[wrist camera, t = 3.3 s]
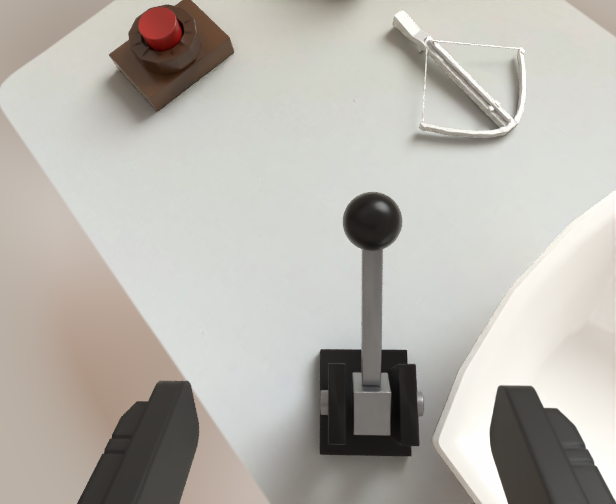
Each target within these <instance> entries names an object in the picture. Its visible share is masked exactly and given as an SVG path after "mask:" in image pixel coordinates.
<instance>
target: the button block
mask: <svg viewBox="0 0 616 504" xmlns="http://www.w3.org/2000/svg"><path fill="white" fill-rule="evenodd" d="M158 7H163V8H167V9H169V10H171V11H172V12H173V13H174V14H175V16H176V18H177V20H178V23H179V25H180V27H181V30H182V37H181V40H180V42H179V43H178V44H177V45H176V46H175V47H174V48H172V49H171V50H167V51H162V52H160V51H155V50H153V49H151V48H150V47H149V46H148V45H147V43H146V42H145V40H144V38H143V36H142V35H141V33H140V31H139V21H140V18H141V17H142V15H143V14H144V13H145V12H147V11H148V10H150V9H153V8H157V7H153V8H150V9H148V10H147V11H145V12H144V13H143V14H141V15H140V16H139V17H137V18H136V19H135V21H134V23H133V25H132V27H131V29H130V31H129V40H128V41H127V42H125V43H124V44H123V45H121V46H120V47H118V48H117V49H116V50H114V51H113V52H112V53H110V54H109V56H110V57H111V59H112V60H113V62H114V63H115V65H116V66H117V68H118V69H119V70H120V71H121V72H122V73H123V74H124V76H125V77H126V78H127V79H128V80H129V81H130V82H131V83H132V84H133V85H134V86H135V88H136V89H137V90H138V91H139V92H140V93H141V94H142V95H143V96H144V97H145V99H146V100H147V101H148V102H149V103H150V104H151V105H152V106H153V107H154V108H155V109H156V111H158V110H160V109H161V108H162V107H164V106H165V105H166V104H168V103H169V102H170V101H171V100H173V99H174V98H175V97H177V96H178V95H179V94H181V93H182V92H183V91H184V90H186V89H187V88H188V87H190V86H191V85H192V84H193V83H195V82H196V81H197V80H199V79H200V78H201V77H203V76H204V75H205V74H206V73H208V72H209V71H210V70H212V69H213V68H214V67H216V66H217V65H218V64H219V63H221V62H222V61H223V60H225V59H226V58H227V57H229V56H230V55H231V54H232V53H234V50H233V47H232V43H231V40H230V37H229V36H228V35H227V34H226V33H225V32H224V31H222V30H221V29H220V28H219V27H218V26H217V25H216V24H215V23H214V22H213V21H212V20H211V19H210V18H209V17H208V16H207V15H206V14H205V13H204V12H203V11H202V10H201V9H200V8H199V7H198V6H197V5H196V4H195V3H194V2H192V1H191V0H182V1H181V2H179V3H178V4H177V5H175V6H172V5H163V6H158Z"/></svg>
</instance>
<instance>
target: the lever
mask: <svg viewBox="0 0 616 504" xmlns="http://www.w3.org/2000/svg"><path fill="white" fill-rule="evenodd" d="M401 227H402V216H401V212H400V209H399V207H398V206H397V204H396V203H395V202H394V201H393V200H392V199H391V198H390V197H388V196H387V195H384V194H382V193H378V192H367V193H363V194H361V195H359V196H357V197H355V198H354V199H353V200H352V201H351V202H350V203H349V204H348V206H347V208H346V210H345V212H344V216H343V228H344V231H345V234H346V236H347V238H348V239H349V240H350V241H351V243H353V244H354V245H355V246H357V247H358V248H361V249H362V373H352V420H353V434H354V435H391V408H392V392H391V386H390V381H389V376H388V373H381V351H382V269H383V249H384V248H386V247H388V246H389V245H391V244H392V243H393V242H394V241H395V240H396V238H397V237H398V235H399V233H400V231H401Z"/></svg>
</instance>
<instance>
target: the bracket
mask: <svg viewBox="0 0 616 504" xmlns="http://www.w3.org/2000/svg"><path fill="white" fill-rule="evenodd" d="M352 373H362V350H342V349H321V350H320V454H321V455H367V456H411V446H419V424H418V416H423V412H424V403H423V395H422V392H420V391H417V382H416V365H415V364H407V350H382V351H381V373H388V376H389V381H390V386H391V392H392V408H391V435H354V434H353V420H352Z"/></svg>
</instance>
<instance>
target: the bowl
mask: <svg viewBox="0 0 616 504" xmlns="http://www.w3.org/2000/svg"><path fill="white" fill-rule="evenodd" d="M500 385H521V386H532V387H534V389H535V390H536V392H537V394H538V396H539V399H540V401H541V403H542V405H543V407H544V408H557V409H558V410H560V411H561V412H562V413H563V414H564V415H565V416H566V417H567V418H568V419H569V420H570V421H571V422H572V423H573V424H574V425H575V426H576V428H577V430H578V432H579V434H580V435H581V437H582V439H583V441H584V443H585V445H586V449H588V450H589V452H590V454H591V456H592V458H593V460H594V464H595V466H597V467H598V469H599V471H600V473H601V475H602V477H603V479H604V481H605V482H606V484H607V486H608V488H609V490H610V492H611V494H612V496H613V497H614V499H615V501H616V190H615V191H614V192H612V193H611V194H609V195H608V196H607V197H605V198H604V199H603V200H601V201H600V202H599V203H597V204H596V205H595V206H593V207H592V208H591V209H589V210H588V211H587V212H585V213H584V214H583V215H581V216H580V217H579V218H577V219H576V220H575V221H573V222H572V223H570V224H569V225H568V226H567V227H566V228H565V229H564V230H563V231H562V232H561V233H560V235H559V236H558V237H557V238H556V239H555V240H554V241H553V242H552V243H551V244H550V245H549V246H548V248H547V249H546V250H545V251H544V252H543V253H542V254H541V255H540V256H539V257H538V258H537V259H536V260H535V262H534V263H533V264H532V265H531V266H530V267H529V268H528V269H527V270H526V271H525V272H524V273H523V275H522V276H521V277H520V278H519V279H518V280H517V281H516V282H515V283H514V284H513V285H512V286H511V287H510V289H509V290H508V291H507V293H506V294H505V296H504V298H503V299H502V301H501V303H500V304H499V306H498V307H497V309H496V311H495V312H494V314H493V316H492V317H491V319H490V320H489V322H488V324H487V325H486V327H485V329H484V330H483V332H482V333H481V335H480V337H479V338H478V340H477V342H476V343H475V345H474V346H473V348H472V350H471V351H470V353H469V355H468V356H467V358H466V359H465V361H464V363H463V364H462V366H461V368H460V369H459V372H458V374H457V377H456V379H455V382H454V384H453V387H452V389H451V392H450V394H449V397H448V399H447V402H446V404H445V407H444V409H443V412H442V414H441V417H440V419H439V422H438V424H437V427H436V429H435V432H434V434H433V437H432V443H433V446H434V448H435V449H436V450H437V452H438V453H439V455H440V456H441V457H442V459H443V460H444V461H445V463H446V464H447V465H448V467H449V468H450V470H451V471H452V472H453V474H454V475H455V476H456V478H457V479H458V480H459V482H460V483H461V485H462V486H463V487H464V489H465V490H466V491H467V493H468V494H469V495H470V497H471V498H472V500H473V501H474V502H475V504H508V502H507V499H506V496H505V493H504V490H503V487H502V484H501V481H500V478H499V475H498V471H497V468H496V465H495V462H494V459H493V456H492V452H491V447H490V437H489V432H490V424H491V419H492V414H493V409H494V403H495V398H496V393H497V389H498V387H499V386H500Z"/></svg>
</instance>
